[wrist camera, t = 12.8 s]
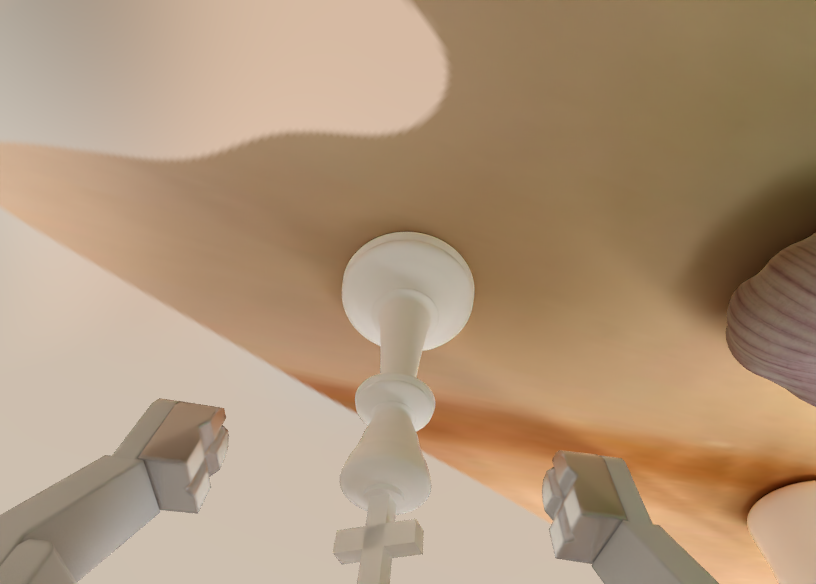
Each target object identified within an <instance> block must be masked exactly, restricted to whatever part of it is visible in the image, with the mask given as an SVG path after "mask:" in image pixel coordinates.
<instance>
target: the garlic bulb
mask: <svg viewBox="0 0 816 584" xmlns="http://www.w3.org/2000/svg"><path fill="white" fill-rule="evenodd" d="M726 340H727V343H728V347H729V349H730V351H731V353H732V355H733V356H734V357H735V358H736V359H737V361H738V362H739V363H740V364H741V365H742V366H743V367H745V368H746V369H747V370H749V371H751V372H753V373H754V374H756V375H759V376H761V377H764V378H766V379H768V380H771V381H772V382H774V383H776V384H778V385H780V386H782V387H784V388H785V389H787V390H788V391H790V392H791V393H792V394H794V395H795V396H797V397H798V398H799V399H801V400H803V401H805V402H807V403H809V404H811V405H813V406H815V407H816V232H815V233H814V234H813V235H811V236H810V237H808V238H806V239H804V240H802V241H800V242H797V243H795V244H792V245H790V246H788V247H786V248H785V249H783V250H781V251H780V252H779V253H777V254H776V255H775V256H774V257H773V258H772V259H771V260H769V261H768V263H767V265H766V266H765V267H764V268H763V269H762V270H761V271H760V272H759V273H758V274H757V275H755V276H753V277H752V278H750V279H748V280H746V281H745V282H743V283H742V284H741V285H739V287H738V288H737V289H736V290H735V291H734V293H733V295H732V297H731V299H730V302H729V306H728V310H727V328H726Z"/></svg>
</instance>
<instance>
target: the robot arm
mask: <svg viewBox="0 0 816 584" xmlns="http://www.w3.org/2000/svg"><path fill="white" fill-rule="evenodd" d="M225 419H226V415H225V411H224V408H220V407H214V406H207V405H201V404H195V403H188V402H181V401H174V400H167V399H158V400H156V401H155V402H153V403H152V404H151V405H150V407H149V408H148V409H147V411H146V412H145V413H144V415H143V416H142V417H141V419H140V420H139V421H138V422H137V424H136V425H135V426H134V428H133V429H132V430H131V432H130V433H129V434H128V435H127V437H126V438H125V439H124V441H123V442H122V443H121V445H120V446H119V447H118V449H117V450H116V451H115V452H114V454H113V455H112V456H110V455H105V456H103V457H101V458H100V459H98V460H96V461H94V462H92V463H91V464H89V465H87V466H86V467H84V468H82V469H80V470H78V471H77V472H75V473H73V474H72V475H70V476H68V477H67V478H64V479H63V480H61V481H59V482H57V483H56V484H54V485H52V486H50V487H49V488H47V489H45V490H43V491H42V492H40V493H38V494H36V495H35V496H33V497H31V498H29V499H28V500H26V501H24V502H22V503H21V504H19V505H17V506H15V507H14V508H12V509H10V510H8V511H7V512H5V513H3V514H2V515H0V584H77V582H78V581H79V580H80V579H81V578H83V577H84V576H85V575H86V574H88V573H89V572H90V571H91V570H92V569H93V568H95V567H96V566H97V565H98V564H99V563H101V562H102V561H103V560H104V559H105V558H106V557H108V556H109V555H110V554H111V553H112V552H114V551H115V550H116V549H117V548H118V547H120V546H121V545H122V544H123V543H124V542H126V541H127V540H128V539H129V538H130V537H131V536H132V535H134V534H135V533H136V532H137V531H138V530H140V529H141V528H142V527H143V526H144V525H146V524H147V523H148V522H149V521H150V520H152V519H153V518H154V517H155V516H156V515H158V514H159V513H160V510H167V511H177V512H187V513H198V512H199V510H200V508H201V506H202V504H203V502H204V500H205V498H206V496H207V494H208V492H209V490H210V488H211V483H210V478H209V477H210V476H211V475H212V474H214V473H215V472H217V471H218V470H220V467H221V465H222V463H223V461H224V459H225V456H226V452H227V448H228V442H229V434H228V430H227V429H226V428H225V427H224V426H223V425H222V424H223V422H224V421H225ZM552 461H553V465H554V467H553V468H551V469H550V470H548V471H547V472H546V474H545V477H544V479H543V486H542V498H543V504H544V509H545V512H546V513H547V514H548V515H549V516H550V517H551V519H552V520H553V522H552V524H551V526H550V528H549V532H550V536H551V540H552V545H553V549H554V553H555V558H557V559H564V560H571V561H576V562H583V563H590V564H592V567H593V569H594V570H595V571H596V573H597V574H598V576H599V577H600V578H601V580H602V581H603V583H604V584H719V583H718V582H717V581H716V580H715V579H714V578H713V577H712V576H711V575H710V574H709V573H708V572H707V571H706V570H705V569H704V568H703V567H702V566H701V565H700V564H699V563H698V562H696V561H695V560H694V559H693V558H692V557H691V556H690V555H689V554H688V553H687V552H686V551H685V550H684V549H683V548H682V547H681V546H680V545H679V544H678V543H677V542H676V541H675V540H674V539H673V538H672V537H671V536H670V535H669V534H668V533H667V532H666V531H665V530H664V529H662V528H661V527H660V526H659V525H654V524H652V521H651V519H650V517H649V515H648V512H647V510H646V508H645V506H644V503H643V501H642V499H641V497H640V494H639V492H638V490H637V488H636V485H635V483H634V481H633V479H632V476H631V474H630V472H629V470H628V467H627V465H626V463H625V462H624V460H623V459H622V458H615V457H608V456H599V455H595V454H586V453H578V452H569V451H560V450H559V451H558V452H556V453H555V455H554V457H553V459H552Z"/></svg>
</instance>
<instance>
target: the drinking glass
mask: <svg viewBox="0 0 816 584" xmlns="http://www.w3.org/2000/svg"><path fill="white" fill-rule="evenodd" d="M747 526H748V530H749V532H750V535H751V537H752V538H753V540H754V542H755V544H756V545H757V547H758V549H759V550H760V552H761V553H762V555H763V557H764V558H765V560H766V562H767V563H768V565H769V567H770V568H771V570H772V572H773V574H774V576H775V578H776V580H777V582H778V584H816V481H806V482H800V483H795V484H791V485H788V486H785V487H782V488H779V489H777V490H775V491H772V492H770V493H769V494H767V495H765V496H764V497H762V498H761V499H760V500H758V501H757V502H756V503H755V504H754V505H753V507H752V508H751V510H750V511H749V514H748V517H747Z"/></svg>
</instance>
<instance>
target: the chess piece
mask: <svg viewBox="0 0 816 584" xmlns="http://www.w3.org/2000/svg"><path fill="white" fill-rule="evenodd" d="M474 293H475V288H474V280H473V276H472V273H471V271H470V268H469V266H468V265H467V263H466V261H465V260H464V259H463V257H462V256H461V255H460V254H459V253H458V252H457V251H456V250H455V249H454V248H452V247H451V246H450V245H448V244H447V243H445V242H444V241H442V240H440V239H438V238H435V237H433V236H430V235H427V234H422V233H417V232H395V233H390V234H386V235H382V236H380V237H377V238H375V239H373V240H371V241H369V242H368V243H366V244H365V245H363V246H362V247H361V248H360V249H359V250H358V251H357V252H356V253H355V254H354V255H353V257H352V258H351V259H350V261H349V263H348V265H347V267H346V269H345V272H344V276H343V286H342V302H343V307H344V310H345V313H346V315H347V317H348V319H349V320H350V322H351V324H352V325H353V326H354V327H355V329H356V330H357V331H358V332H359V333H360V334H361V335H363V336H364V337H365V338H367V339H368V340H369V341H371V342H373V343H375V344H377V345H379V346H380V374H376V375H374V376H371V377H369V378H368V379H366V380H365V381H364V382H363V383H362V384H361V385H360V386H359V387H358V389H357V391H356V395H355V404H356V410H357V413H358V415H359V417H360V418H361V420H362V421H363V422H364V423H365V424H366V425H367V426H368V427H367V428H366V430H365V431H364V433H363V436H362V438H361V440H360V441H359V443H358V445H357V446H356V448H355V449H354V450H353V451H352V453H351V454H350V456H349V457H348V459H347V461H346V463H345V464H344V466H343V468H342V471H341V474H340V486H341V489H342V492H343V493H344V495H345V496H346V497H347V499H348V500H349V501H350V502H352V503H353V504H354V505H356V506H357V507H359V508H361V509H363V510H365V511H368V512H367V520H366V526H365V527H357V528H350V529H344V530H337V533H336V538H335V543H334V548H333V554H334V555H335V557H336V558H337V559H338V560H339V561H340V563H341V564H348V563H356V562H360V566H359V574H358V580H357V584H390V573H391V562H392V558H396V557H404V556H412V555H420V554H423V530H422V528H421V526H420V524H419V523H418V521H417V520H416V519H411V520H404V521H398V522H395V518H396V515H399V514H404V513H407V512H410V511H413V510H414V509H416V508H418V507H419V506H421V505H422V504H423V503H424V502H425V501H426V500H427V498H428V497H429V494H430V492H431V478H430V474H429V470H428V467H427V464H426V461H425V459H424V457H423V455H422V452H421V449H420V445H419V440H418V436H417V433H416V431H418V430H420V429H422V428H423V427H424V426H426V425H427V423H428V422H429V421H430V419H431V417H432V414H433V412H434V410H435V398H434V395H433V393H432V391H431V390H430V388H429V387H428V386H427V385H426V384H425V383H424V382H422V381H421V380H419V379H418V378H416V377H417V372H418V367H419V363H420V358H421V354H422V351H426V350H430V349H433V348H436V347H439V346H441V345H443V344H445V343H447V342H448V341H450V340H451V339H453V338H454V337H455V336H456V335H457V334H458V333H459V332H460V331H461V330H462V329H463V328H464V326H465V325H466V323H467V321H468V319H469V317H470V315H471V312H472V307H473V300H474Z"/></svg>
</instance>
